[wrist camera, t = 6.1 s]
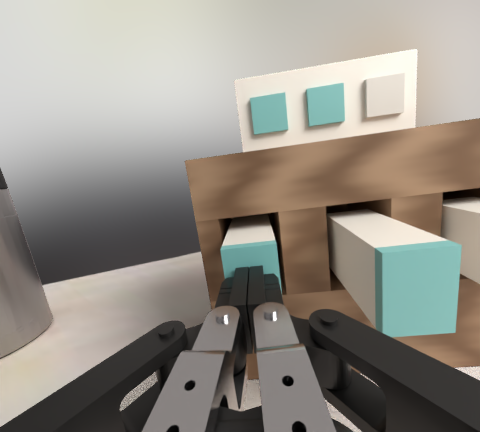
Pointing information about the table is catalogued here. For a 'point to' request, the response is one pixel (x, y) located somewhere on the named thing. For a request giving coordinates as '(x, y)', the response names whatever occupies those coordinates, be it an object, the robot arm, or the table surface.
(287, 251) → the frame
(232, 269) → the teal-ended white block
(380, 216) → the plunger
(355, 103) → the card
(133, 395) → the table surface
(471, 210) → the plunger
